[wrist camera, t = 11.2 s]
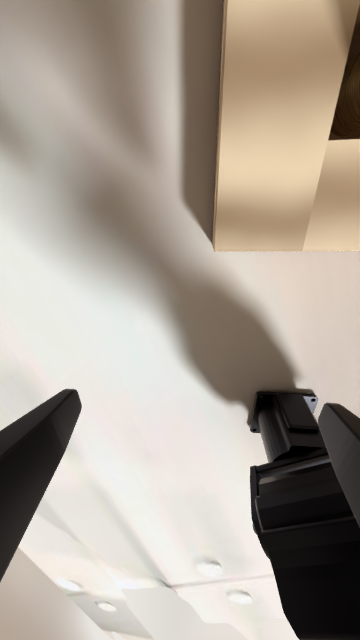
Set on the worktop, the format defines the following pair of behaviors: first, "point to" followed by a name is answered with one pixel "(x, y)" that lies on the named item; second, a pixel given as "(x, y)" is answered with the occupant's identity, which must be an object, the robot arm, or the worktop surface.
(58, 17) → the worktop surface
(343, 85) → the pin
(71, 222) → the worktop surface
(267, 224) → the bore block
